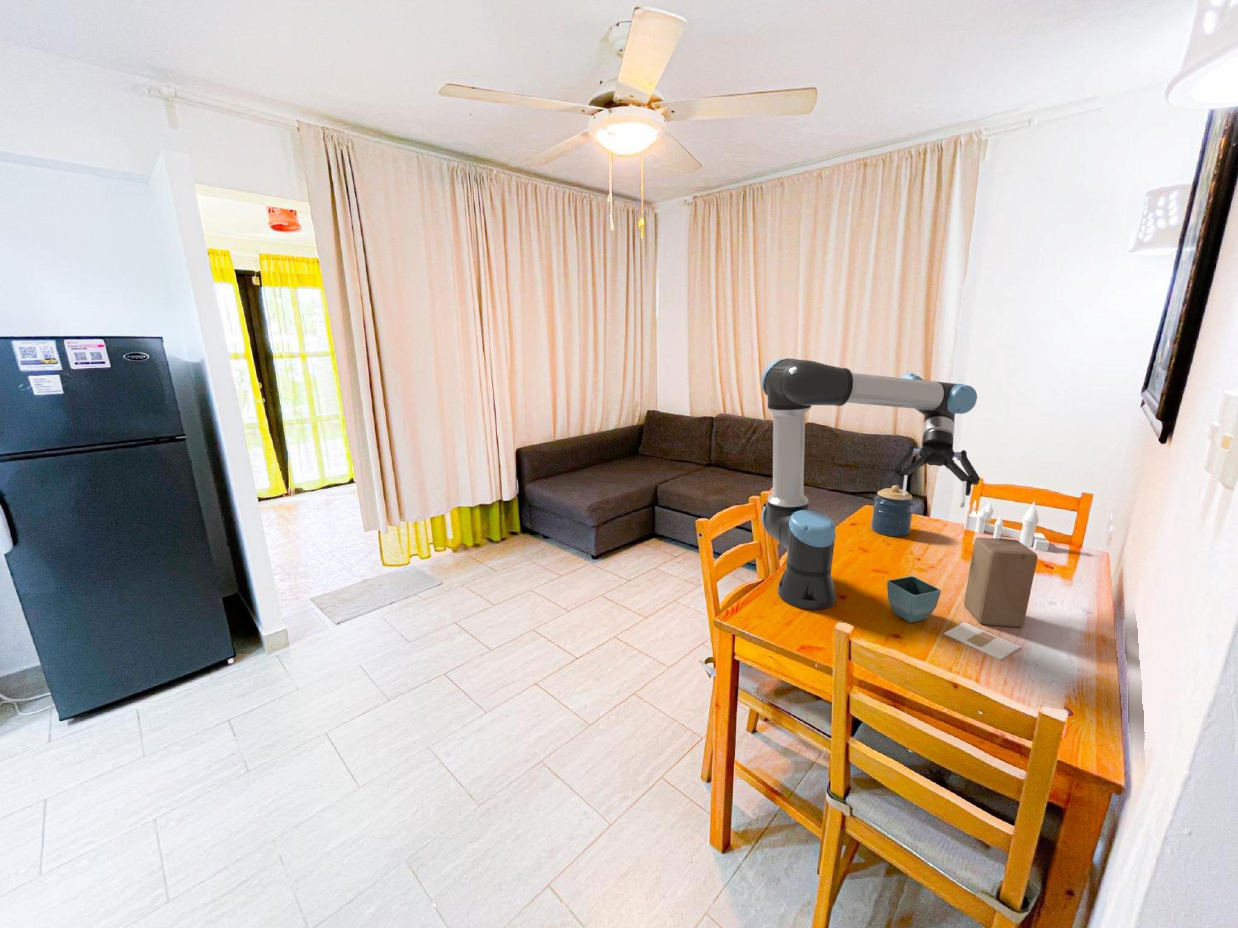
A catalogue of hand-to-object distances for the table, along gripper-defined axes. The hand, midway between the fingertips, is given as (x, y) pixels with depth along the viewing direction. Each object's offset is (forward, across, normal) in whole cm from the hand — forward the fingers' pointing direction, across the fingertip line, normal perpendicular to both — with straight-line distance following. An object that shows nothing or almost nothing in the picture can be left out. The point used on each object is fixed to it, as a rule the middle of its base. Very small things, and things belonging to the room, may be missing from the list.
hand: (932, 501), depth 135 cm
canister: (-15, +9, -54) cm, 57 cm away
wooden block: (+23, -16, -16) cm, 32 cm away
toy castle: (-24, -27, -64) cm, 74 cm away
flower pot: (+30, +2, -9) cm, 31 cm away
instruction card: (+33, -13, -6) cm, 36 cm away
